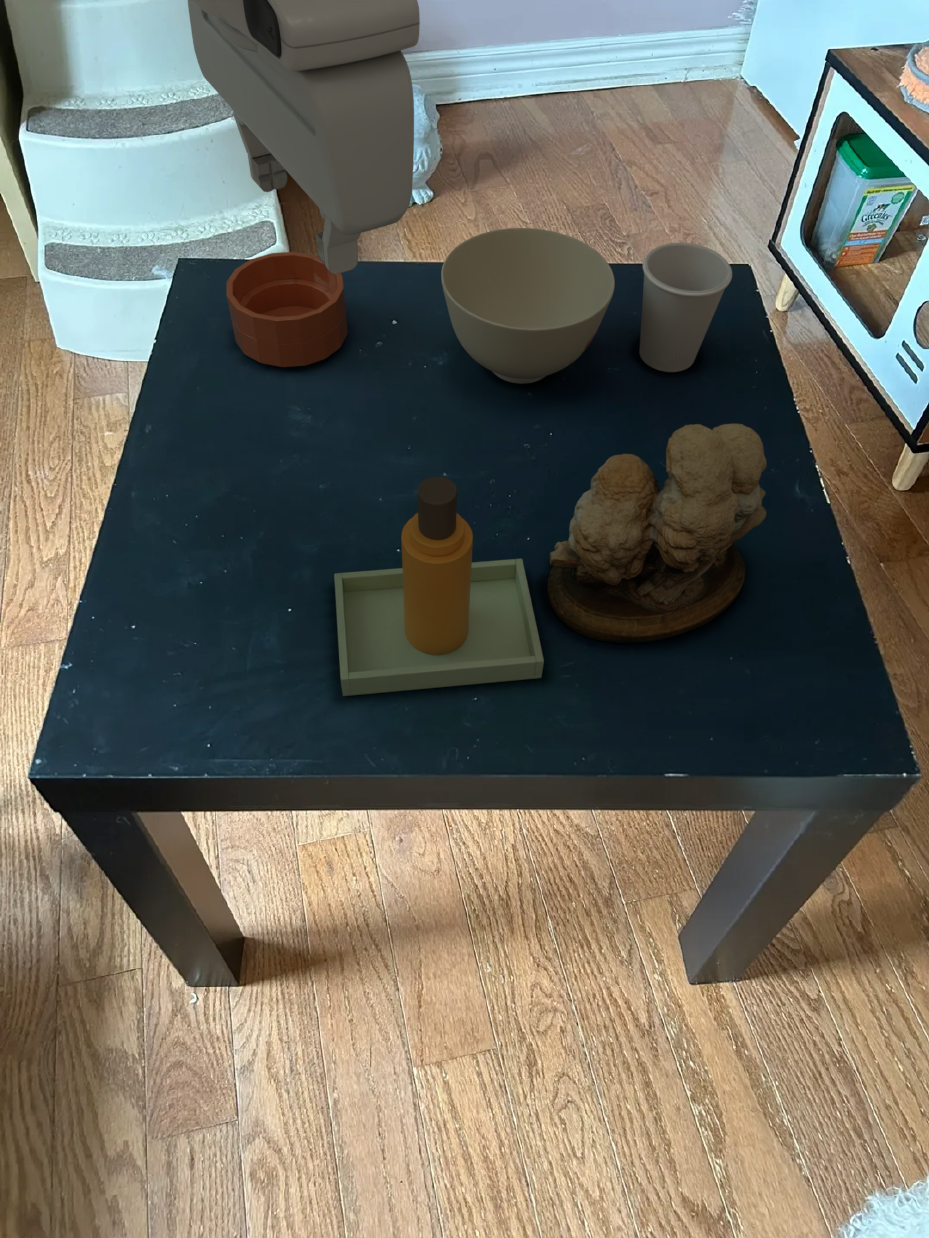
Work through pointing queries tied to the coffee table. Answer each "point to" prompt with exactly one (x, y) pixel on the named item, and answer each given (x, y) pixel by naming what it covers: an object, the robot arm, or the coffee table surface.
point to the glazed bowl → (287, 309)
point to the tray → (391, 663)
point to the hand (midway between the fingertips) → (302, 223)
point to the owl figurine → (660, 538)
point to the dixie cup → (679, 302)
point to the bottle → (436, 570)
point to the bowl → (526, 300)
